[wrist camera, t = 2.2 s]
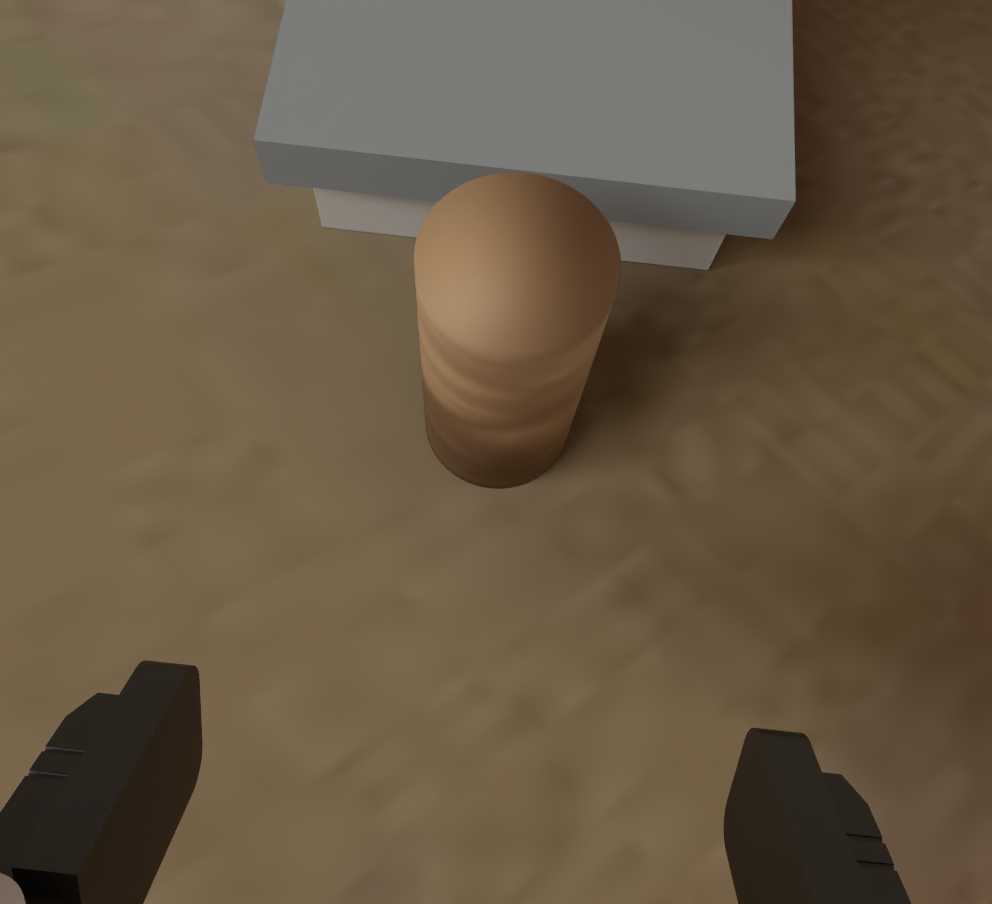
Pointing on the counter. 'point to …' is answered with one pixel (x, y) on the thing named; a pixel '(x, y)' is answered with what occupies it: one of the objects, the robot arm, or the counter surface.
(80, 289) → the counter surface
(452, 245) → the walnut roller
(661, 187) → the grey stool
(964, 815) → the counter surface
